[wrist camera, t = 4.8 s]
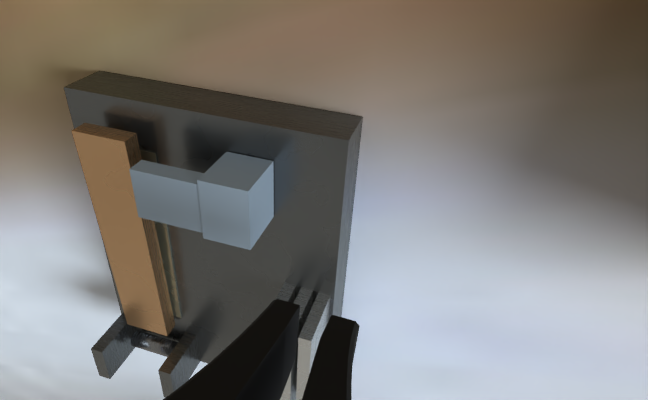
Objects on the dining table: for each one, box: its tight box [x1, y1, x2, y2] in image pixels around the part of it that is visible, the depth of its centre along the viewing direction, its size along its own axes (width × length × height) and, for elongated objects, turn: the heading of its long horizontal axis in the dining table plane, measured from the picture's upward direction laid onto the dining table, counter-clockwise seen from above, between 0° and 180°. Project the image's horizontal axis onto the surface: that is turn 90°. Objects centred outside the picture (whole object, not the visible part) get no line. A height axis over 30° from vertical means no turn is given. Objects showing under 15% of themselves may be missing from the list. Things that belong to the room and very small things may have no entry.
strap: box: [72, 123, 178, 357], centre depth 21 cm, size 12×2×1 cm, turn 177°
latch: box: [129, 152, 274, 250], centre depth 17 cm, size 2×4×2 cm, turn 87°
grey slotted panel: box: [64, 71, 363, 400], centre depth 21 cm, size 14×11×4 cm
